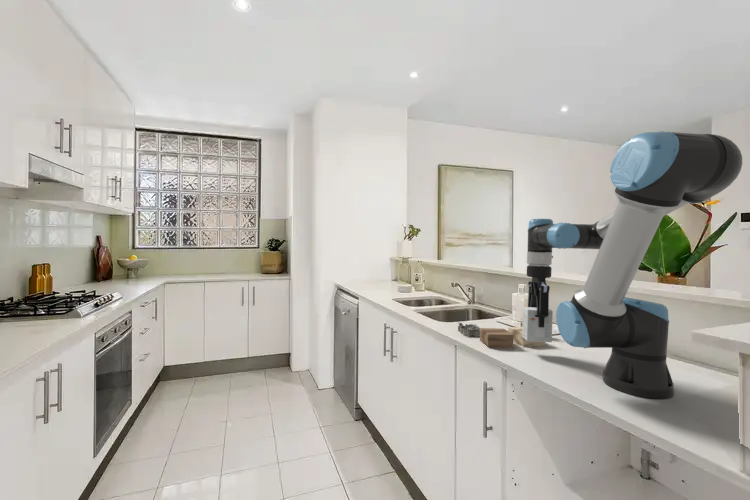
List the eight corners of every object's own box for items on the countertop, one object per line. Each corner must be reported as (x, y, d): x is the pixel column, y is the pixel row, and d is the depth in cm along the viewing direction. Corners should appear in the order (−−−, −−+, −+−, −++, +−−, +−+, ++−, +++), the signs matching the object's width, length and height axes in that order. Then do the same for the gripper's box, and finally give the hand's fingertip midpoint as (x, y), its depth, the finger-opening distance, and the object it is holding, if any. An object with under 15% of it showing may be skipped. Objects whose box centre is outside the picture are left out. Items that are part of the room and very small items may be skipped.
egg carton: (456, 330, 151) (456, 320, 151) (474, 330, 151) (474, 321, 151) (462, 337, 140) (463, 326, 140) (481, 337, 141) (482, 327, 140)
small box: (545, 338, 123) (546, 307, 123) (552, 342, 117) (553, 310, 117) (521, 337, 124) (522, 306, 123) (526, 341, 118) (527, 309, 118)
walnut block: (513, 349, 127) (513, 334, 126) (487, 348, 126) (488, 334, 126) (503, 341, 136) (504, 328, 135) (479, 341, 135) (480, 328, 135)
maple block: (544, 346, 131) (544, 332, 131) (522, 347, 129) (523, 333, 129) (528, 339, 140) (528, 326, 140) (507, 340, 138) (508, 327, 138)
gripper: (562, 267, 110) (559, 342, 111) (541, 264, 129) (538, 328, 129) (536, 266, 111) (533, 341, 112) (519, 263, 130) (517, 327, 130)
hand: (536, 334), depth 120 cm, fingers closed on small box, 6 cm apart
